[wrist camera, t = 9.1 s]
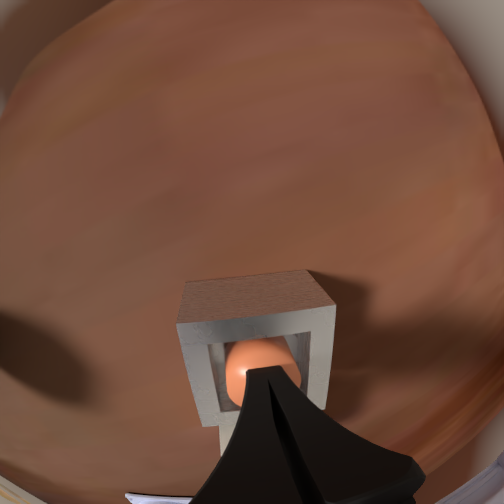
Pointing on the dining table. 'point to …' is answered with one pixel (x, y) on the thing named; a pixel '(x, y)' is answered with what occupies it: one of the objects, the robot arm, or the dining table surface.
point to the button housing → (254, 333)
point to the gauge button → (256, 362)
